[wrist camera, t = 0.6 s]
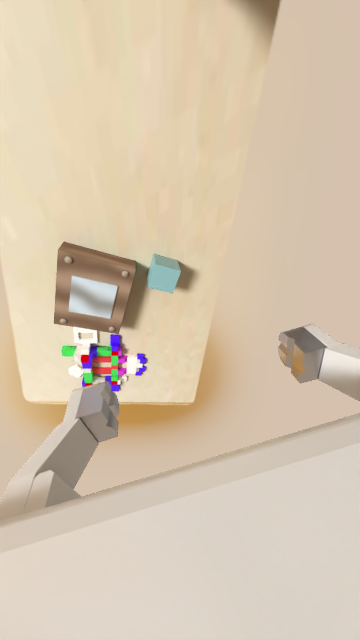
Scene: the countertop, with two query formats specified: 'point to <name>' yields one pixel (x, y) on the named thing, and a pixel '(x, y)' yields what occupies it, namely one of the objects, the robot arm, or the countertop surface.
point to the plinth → (91, 288)
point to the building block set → (102, 360)
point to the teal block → (163, 273)
